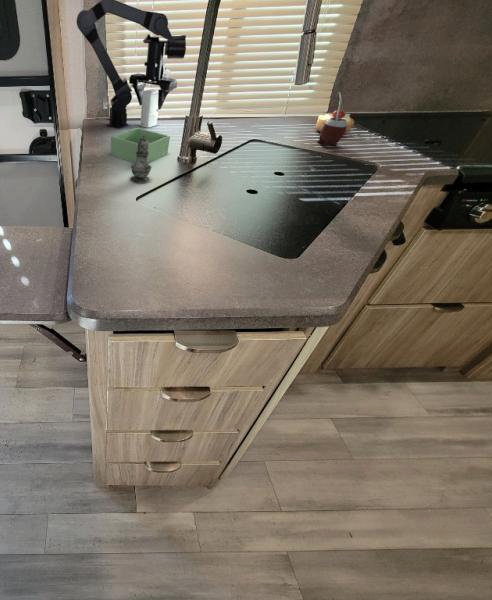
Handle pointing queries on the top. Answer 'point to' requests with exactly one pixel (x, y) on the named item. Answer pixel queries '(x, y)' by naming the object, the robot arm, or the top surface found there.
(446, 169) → the top surface
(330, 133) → the mate gourd
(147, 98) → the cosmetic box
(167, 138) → the green open box
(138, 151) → the grey tall ornate piece
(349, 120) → the pastry
